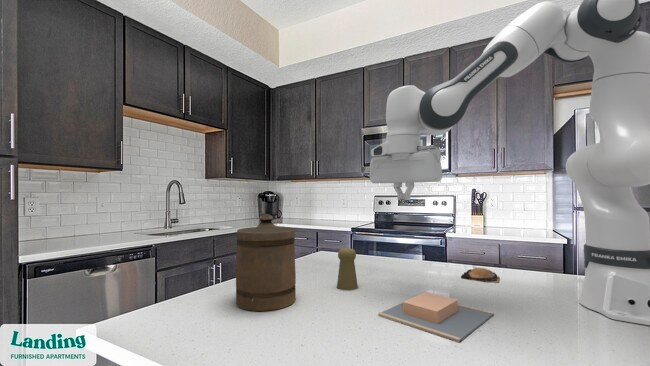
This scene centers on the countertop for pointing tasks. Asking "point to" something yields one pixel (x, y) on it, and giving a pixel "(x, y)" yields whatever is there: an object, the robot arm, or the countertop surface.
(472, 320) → the mat
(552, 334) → the countertop surface
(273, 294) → the wooden container
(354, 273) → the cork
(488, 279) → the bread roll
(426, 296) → the tile
